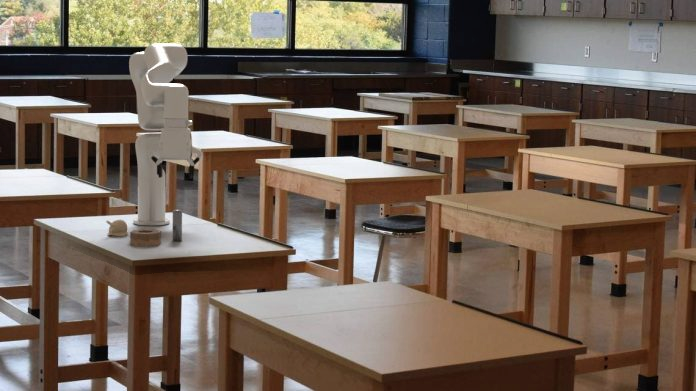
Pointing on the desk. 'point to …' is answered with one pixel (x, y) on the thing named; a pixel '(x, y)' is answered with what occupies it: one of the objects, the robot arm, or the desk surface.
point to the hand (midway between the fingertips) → (175, 177)
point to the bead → (145, 237)
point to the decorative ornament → (117, 228)
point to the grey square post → (177, 226)
